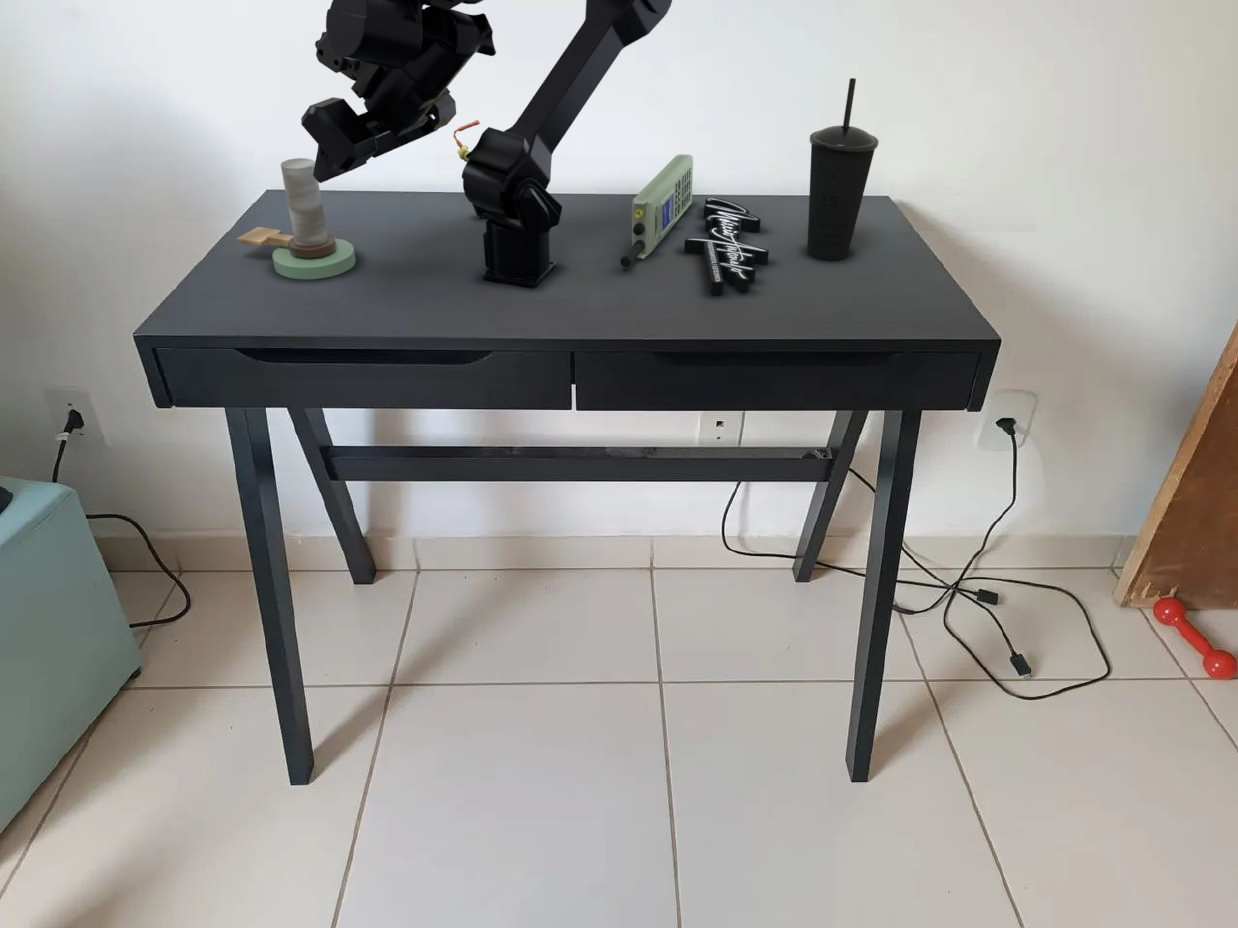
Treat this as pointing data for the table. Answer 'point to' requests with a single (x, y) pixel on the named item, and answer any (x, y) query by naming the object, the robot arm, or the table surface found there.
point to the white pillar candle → (298, 214)
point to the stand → (314, 262)
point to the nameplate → (727, 246)
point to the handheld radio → (660, 207)
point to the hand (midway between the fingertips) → (345, 166)
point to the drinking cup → (837, 184)
